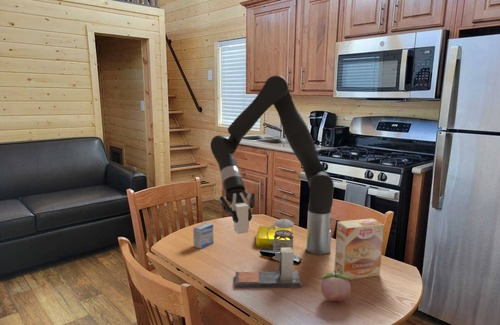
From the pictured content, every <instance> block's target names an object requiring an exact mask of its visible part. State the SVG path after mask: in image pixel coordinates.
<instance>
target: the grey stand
mask: <svg viewBox="0 0 500 325" xmlns="http://www.w3.org/2000/svg"><path fill="white" fill-rule="evenodd" d="M294 253H295V252H294V248H293V249H292V248H280V257H279V261H278V264H279V265H278V266H279V268H278V271H235V280H234V281H235V284H234V285H235V287H234V288H235V289H236V288H237V289H240V288H241V289H242V288H244V289H245V288H246V289H247V288H251V289H252V288H254V289H255V288H256V289H257V288H259V289H260V288H301V287H302V281H301V279H300V275H299V272H298V271H294V260H295V258H294V255H295V254H294Z"/></svg>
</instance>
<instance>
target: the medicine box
mask: <svg viewBox="0 0 500 325" xmlns="http://www.w3.org/2000/svg"><path fill="white" fill-rule="evenodd" d="M214 243H215V242H214V224H213V223H210V222H205V223H202V224H199V225H197V226H195V227H193V247H194V248H198V249H200V250H201V249H204V248H206V247H208V246H210V245H212V244H214Z"/></svg>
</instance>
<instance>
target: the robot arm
mask: <svg viewBox="0 0 500 325" xmlns="http://www.w3.org/2000/svg"><path fill="white" fill-rule="evenodd" d="M272 106H274V108H275V110H276V112H277V113H278V114H277V115H278V117H279V120H280V124H281V127H282V129H283V133H284V135H285V138H286V140H287V141H288V145H289V146H290V149H291V150H292V152H293V154H294V155H295V156H296V158H297V160H298V161H299V162H300V164H301V166H302V169H303V171H304V174H305V178H306V180H307V184H308V186H309V198H308V206H307V223H306V224H307V227H306V228H307V229H306V243H305V244H306V245H305V246H306V247H305V248H306V251H307V252H308V253H310V254H313V255H318V256H319V255H321V256H322V255H326V254H330V253H331V244H332V243H331V242H332V241H331V240H332V230H331V219H332V218H331V216H332V215H331V213H332V206H333V200H334V189H335V188H334V180H333V179H332V178H331V176H330V175H329V173H328V172H327V171H326V170H325V168H324V166H323V165H322V162H321V161H320V158H319V156H318V153H317V149H316V146H315V145H316V144H315V141H314V139H313V137H312V135H311V132H310V130H309V128H308V125H307V124H306V122H305V120H304V118H303V117H302V115H301V114H300V112H299V111H298V109H297V107H296V105H295V103H294V101H293V98H292V95H291V92H290V89H289V85H288V82H287V80H286V79H285V78H284V77H283V76H281V75H271V76H269V77H268V78H267V79H266V81H265V82H264V85H263V87H262V88H261V90H260V91H259V92H258V94H257V95H256V97H255V98H254V99H253V101H252V102H251V103H250V104H249V105H248V106H247V107H246V108H245V109H244V110H243V111H242V112H241V113H240V114H239V115H238V116H237V117H236V118H235V120H233V122H231V124H230V125H229V126H228V128H227V132H228V134H229V137H228V138H227V137H224V136H223V135H215V136H214V137H212V138H211V141H210V150H211V153H212V155H213V157H214V159H215V161H216V162H217V164H218V168H219V172H220V176H221V177H220V178H221V183H222V184H223V189H224V194H225V196H224V195H223V196H222V195H221V196H220V197H219V200H218V202H219V203H220V206H221V207H222V209H223V211H224V212H225V214H230V215H231V218H232V219H231V220H232V221H233V222H234V221H235V223H237V222H238V217H237V213H236V211H235V204H237V203H245V204H247V205H248V209H249V218H248V221H249V222H250V221H251V220H252V219H253V214H252V211H253V209H254V207H255V201H256V200H255V198H256V197H255V196H256V195H255V193H254V192H252V193H248V192H247V191H246V188H245V185H244V180H243V178H242V174H241V171H240V169H239V167H238V163H237V160H236V158H235V156H234V155H233V154H235V152H236V150H237V149H238V147H239V145H240V144H241V141H242V139H243V138H244V137H245V136H246V135H247V133H249V131H250V130H251V129H252V128H253V127H254V126H255V125H256V123H257V122H258V121H259V119H260V118H261V117H262V116H263V115H264V114H265V112H267V110H268V109H270V108H271V107H272ZM247 199H248V200H249V202H248V200H247ZM227 201H228V202H227ZM228 203H230V206H229V204H228Z"/></svg>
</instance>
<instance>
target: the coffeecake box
mask: <svg viewBox="0 0 500 325" xmlns="http://www.w3.org/2000/svg"><path fill="white" fill-rule="evenodd" d="M336 225H337V226H336V237H335V238H336V239H335V255H334V267H333V268H334V269H333V270H334V271H333V272H335V271H336V273H340V274H345V275H347V276H348V277H349V278H350V279H351V280H358V279H363V278H370V277H371V278H372V277H379V276H380V275H381V265H382V254H383V253H382V252H383V243H384V230H385V224H384V223H382V222H380V221H379V220H377V219H375V218H372V217H371V218H364V219H362V218H361V219H352V220H341V221H337V224H336Z"/></svg>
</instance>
